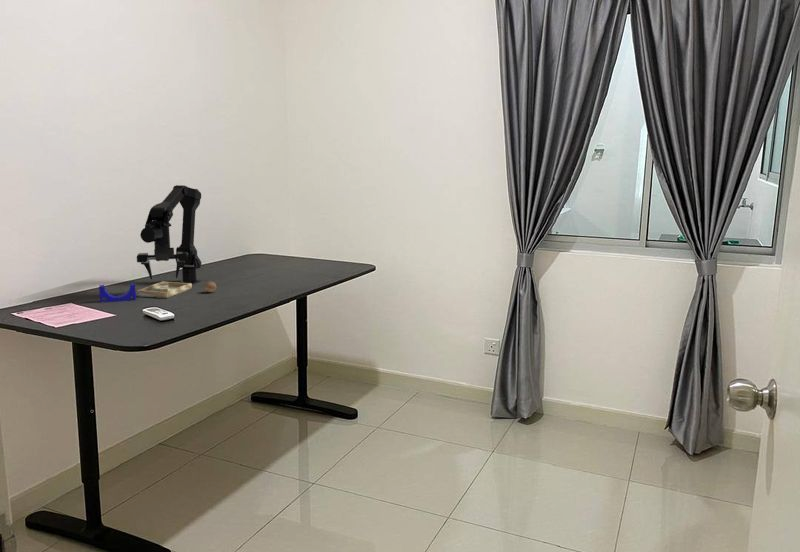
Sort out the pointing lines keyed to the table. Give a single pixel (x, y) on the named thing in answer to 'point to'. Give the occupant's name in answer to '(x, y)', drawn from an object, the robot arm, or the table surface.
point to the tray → (155, 292)
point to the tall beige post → (164, 287)
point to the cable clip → (120, 297)
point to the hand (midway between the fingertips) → (164, 278)
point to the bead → (210, 286)
